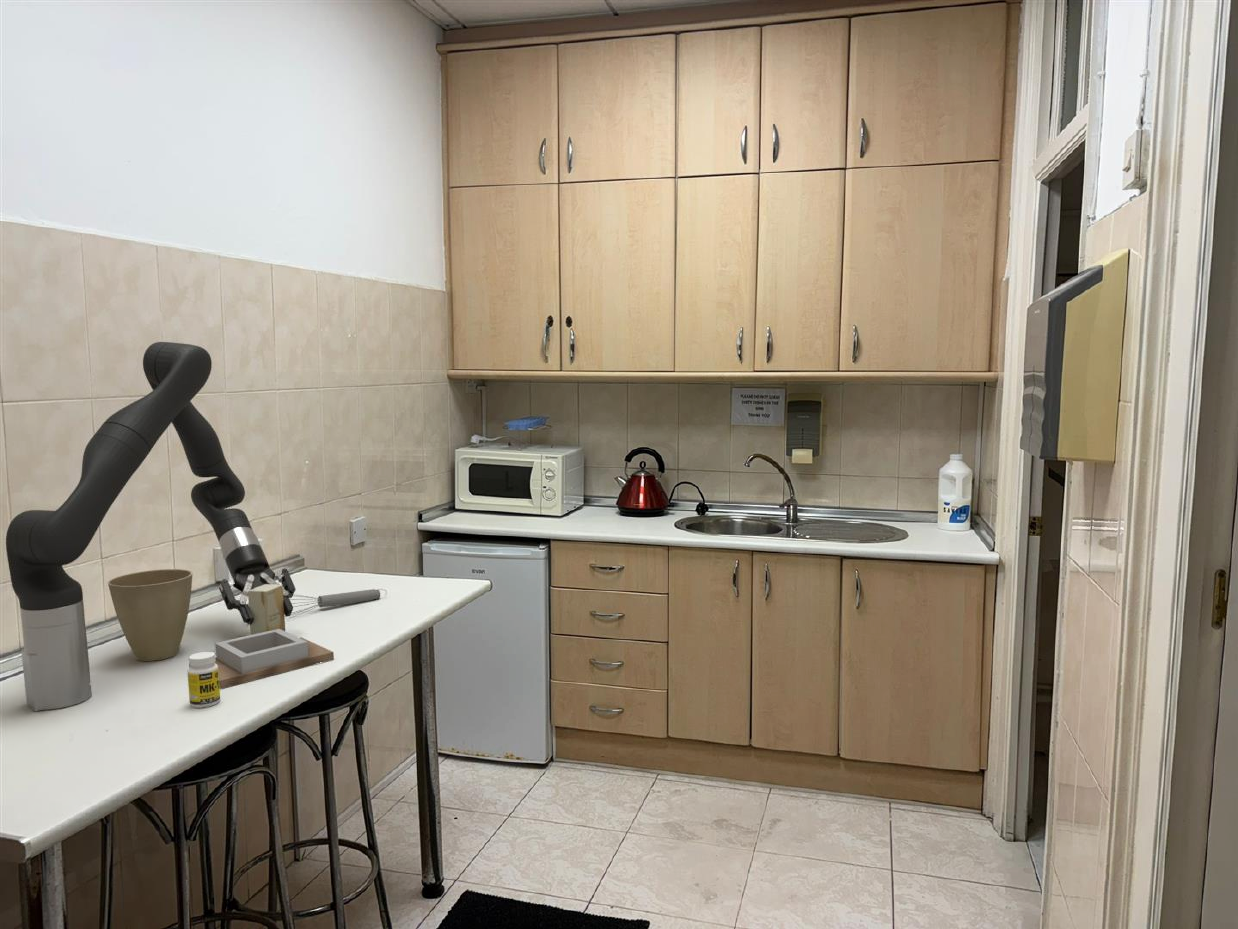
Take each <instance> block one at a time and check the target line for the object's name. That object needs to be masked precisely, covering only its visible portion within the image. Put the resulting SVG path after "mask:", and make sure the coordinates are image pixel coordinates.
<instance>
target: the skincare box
mask: <svg viewBox="0 0 1238 929" xmlns="http://www.w3.org/2000/svg"><path fill="white" fill-rule="evenodd" d="M283 589H284V588H283V585H282V584H280V585H277V584H265V585H262V586H259V587H256V588H254V589H252V590H249V591H248V598H247V601H248V602H249V603H248V604H249V608H250V610H251V613H252V615H253V618H254V621H253V623H252V624H251V625H249V630H250V635H254V634H258V633H262V632H267V631H271V630H276V629H281V630H283V631H285V632H286V622H285V621H286V618H285V617H286V616H285V615H284V598H283Z"/></svg>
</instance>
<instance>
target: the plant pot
mask: <svg viewBox="0 0 1238 929" xmlns="http://www.w3.org/2000/svg"><path fill="white" fill-rule="evenodd" d="M193 574H194V573H193V572H192V571H191V570H189V569H183V568H182V569H180V568H178V569H177V568H174V569H173V568H172V569H171V568H169V569H168V568H167V569H151V570H146V571H145V570H144V571H138V572H133V573H129V574H124V575H120V576H116V577H114V578H112V579H110V580H108V582H107V585H108V590H109V593H110V597H111V601H112V605H113V607H114V611H115V615H116V617H117V620H118V623H119V625H120V628H121V630H122V632H123V635H124V637H125V639H126V641H127V644H128V645H129V647H130V650H131V651H132V653H133V655H134V657H135V658H136V659H137V661H143V662H153V661H160V660H164V659H169V658H171V657H174V656H175V655H177V654H178V652H179V650H180V648H181V647H180V646H181V643H182V639H183V636H184V633H185V629H186V624H187V620H188V616H189V610H190V606H191V605H190V604H191V597H192V588H193V587H192V586H193V585H192V584H193Z"/></svg>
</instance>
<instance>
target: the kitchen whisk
mask: <svg viewBox="0 0 1238 929" xmlns="http://www.w3.org/2000/svg"><path fill="white" fill-rule="evenodd" d="M380 590H381V591H385V594H384V595H385V596H386V595H387V590H385V589H383V588H378V589H375V588H372V589H366V590H358V591H357V590H356V591H350V592H349V591H348V592H341V593H335V594H334V593H333V594H326V595H324V594H323V595H319V596H318V597H313V596H307V595H302V594H297V595H295V597H299V598H289V599H290V601H291V600H293V601H295V600H296V601H299V600H300V601H301V602H299V604H302V605H299V607H301V606H304V604H305V606H308V605H312V606H309V607H306V608H303V609H300V610H297V611H296V610H295V611H292V613H291V615H293V616H291V615H290V616H289V617H288V618H286V620H287V619H292V618H295V617H297V616H300V615H301V614H305V613H307V612H309V611H311V610H313V609H316V608H318V607H319V608H328V607H335V606H342V605H351V604H356V603H357V602H358V603H363V602H362V601H365V602H369V601H368V600H372V601H374V600H373V599H376V600H378V599H377V598H379V599H381V591H380ZM304 598H305V599H304ZM306 598H307V599H306ZM312 599H313V600H312ZM302 600H303V601H304V600H305V601H304V602H303V601H302ZM308 601H312V602H310V603H308ZM291 603H292V605H294V604H297V602H291ZM306 603H307V604H306ZM247 604H248V605H249V601H248V602H247ZM297 607H298V605H294V606H293V608H297ZM284 615H285V614H284Z"/></svg>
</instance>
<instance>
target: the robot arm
mask: <svg viewBox="0 0 1238 929" xmlns="http://www.w3.org/2000/svg"><path fill="white" fill-rule="evenodd" d="M212 361H213V360H212V357H211V355H210V354H209V352H208V351H207V350H206V349H205V348H204V347H202V346H199V345H195V344H190V343H181V342H169V341H156V342H154V343H152V344H150V345H149V346H148V347H147V348H146V350H145V352H144V354H143V358H142V366H143V367H142V368H143V373H144V376H145V378H146V380H147V382H148V384H149V385H150V387H151V389H152V391H151V392H149V393H148V394H147V395H144V396H143V397H140V398H139V399H137V400H135V401H133V402H132V403H130V404H128V405H126V406H124V407H122V408H121V409H119V410H117V411H115V412H114V413H113V414H111V415H110V416H109V417H108V418H107V419H106V420H104V422H103V423H102V424H101V425H100V427H99V428H98V430H96V432H95V433H94V435H92V437H91V438H90V440H89V441H88V443H87V444H86V446H85V449H84V451H83V455H82V463H81V464H82V465H81V473H80V474H81V475H80V478H79V482H78V484H77V485H76V487H75V488H74V489H73V491H72V492H71V493H70V495H69V496H68V498H67V499H66V500H65V501H64V502H63V503H62V504H61V506H59V507H58V508H57V509H56V510H49V509H48V510H46V509H31V510H25V511H22V512H20V513H19V514H17V515H16V516H15V517H13V519H12V520H11V521H10V523H9V525H8V527H7V530H6V536H5V548H6V557H7V563H8V569H9V576H10V582H11V587H12V590H13V592H14V593H15V595H16V596H17V598H18V601H19V609H20V619H21V630H22V639H23V648H22V649H21V659H22V660H21V661H22V670H23V679H24V680H23V681H24V682H23V683H24V688H25V690H24V691H25V698H26V699H25V700H26V704H27V705H28V706H29V705H30V706H29V707H30V709H32V710H33V711H34V712H39V711H44V710H55V709H61V708H62V709H63V708H67V707H71V706H73V705H76V704H80V703H83V702H84V701H87V700H88V699H90V698H91V697H92V693H93V691H92V681H91V670H90V660H89V647H88V639H87V629H86V628H87V627H86V617H85V608H84V607H85V605H84V592H83V588H82V585H81V583H80V582H79V581H77V580H76V579H74V578H73V577H71V576H70V575H69V574H68V573H67V572H66V570H65V569H64V567H63V566H66V565H69V564H71V563H73V562H75V561H76V560H78V559H79V558H80V557H81V556H82V555H83V553H84V552H85V550H87V548H88V546H89V545H90V543H91V542H92V540H93V538H94V536H95V535H96V533H97V532H98V529H99V527H100V526H101V524H102V522H103V520H104V518H105V517H106V515H107V513H108V511H109V509H111V506H112V505H113V504H114V502H115V501H116V499H117V498H118V496H119V495H120V494H121V492H122V490H123V489H124V487H125V486H126V484H128V482H129V481H130V479H131V478H132V477H133V475H134V474H135V473H136V471H137V470H139V468H140V466H141V465H142V464H143V462H144V461H145V459H146V458H147V456H148V455H149V454H150V453H151V451H152V450H153V448H154V446H155V445H156V444H157V442H158V441H159V439H160V438H161V436H163V434H164V433H165V431H166V430H167V429H168V427H170V425H171V424H172V426H173V428H174V429H175V431H176V433H177V436H178V438H179V441H180V442H181V445H182V449H183V450H184V454H185V456H186V459H187V463H188V465H189V467H190V471H191V472H192V474H193V476H194V475H195V477H198V478H211V479H208V480H204V481H202V482H198V483H196V484H195V485H194V486H193V487H192V488H191V492H190V499H191V502H192V504H193V506H194V507H195V508H196V510H197V511H198V512H199V513H200V514H201V515H202V516H203V517H204V518H205V519H206V521H207V522H208V523H209V524H210V526H211V527H212V529H213V531H214V534H215V536H216V538H217V541H218V543H219V547H220V551H221V554H222V558H223V560H224V561H225V564H226V566H227V569H228V571H229V574H230V576H231V578H232V579H231V580H228V579H226V578H223V579H222V580H221V582H220V584H219V587H218V590H219V593H220V594H221V597H222V599H223V602H224V604H225V606H226V608H227V610H229V611H232V610H237V611H238V612H239V615H240V616H241V619H242V621H243V623H246V624H247V626H250V625H251V624H252V623H253V621H254V618H253V615H252V613H251V610H250V608H249V605H248V604H249V603H247V601H248V591H249V590H252V589H254V588H256V587H259V586H262V585H265V584H277V585H283V598H284V614H285V617H288V618H289V617H291V614H293V613H292V612H294V611H293V610H294V606H293V604H292V603H293V602H292V601H291V600H290V599H293V597H294V595H295V592H296V590H297V589H296V587H295V584H294V582H293V579H292V577H291V575H290V573H289V570H288V569H287V568H282V569H281V571H275V572H274V571H273V570H272V568H271V567H270V564H269V562H268V558H267V557H266V554H265V552H264V550H263V547H262V545H261V543H260V540H259V538H258V537H257V535H256V533H255V532H254V530H253V528H252V525H251V523H250V520H249V519H248V516H247V514H246V513H245V511H244V510H242V509H240V508H236V507H235V506H237V505H239V504H241V503H242V502H243V500H244V499H245V495H246V489H245V487H244V485H243V483H242V481H241V480H240V478H238V476H237V474H235V472H234V471H233V470H232V469H231V467H230V466H229V463H228V461H227V460H226V456H225V454H224V451H223V448H222V444H221V442H220V439H219V437H218V434H217V432H216V430H215V429H214V428H213V426H212V425H211V423H210V422H209V421H208V420H207V419H206V418H205V417H204V415H203V414H202V413H201V412H200V411H199V410H198V408H196V407H195V405H194V404H193V402H192V400H193V399H194V398H195V397H196V396H197V394H198V393H200V391H201V390H202V389H203V388H204V387H205V385H206V383H207V382H208V380H209V378H210V375H211V373H212V368H213V367H212V363H213V362H212ZM232 507H235V508H232ZM275 580H277V581H278V582H277V581H275ZM280 583H281V584H280ZM233 588H235V589H236V590H238V591H239V592H241V595H240V598H239V599H236V597H235V594H234V592H233Z"/></svg>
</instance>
